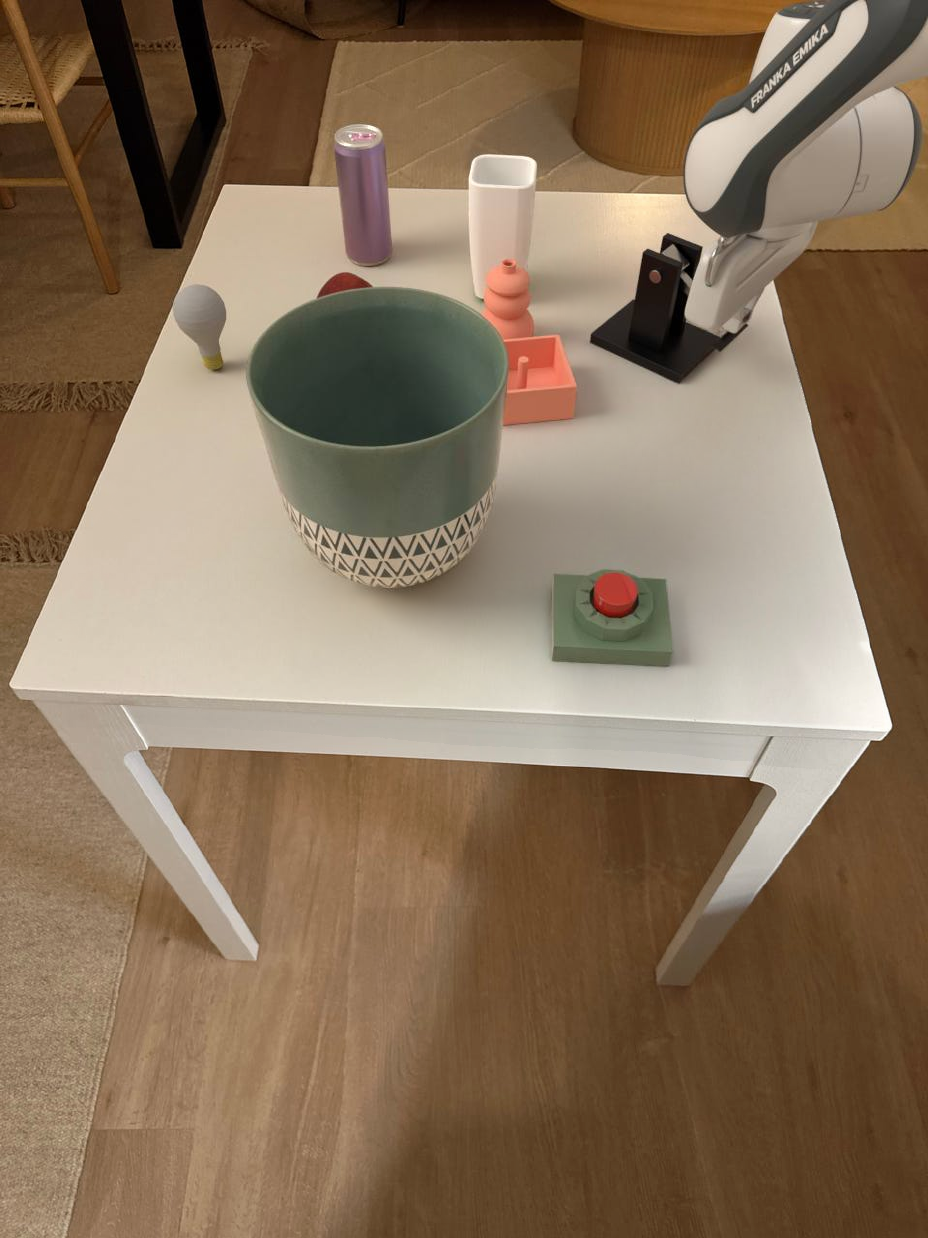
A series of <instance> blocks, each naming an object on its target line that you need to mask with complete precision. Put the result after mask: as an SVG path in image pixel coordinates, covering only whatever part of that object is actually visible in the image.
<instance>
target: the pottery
mask: <svg viewBox="0 0 928 1238" xmlns="http://www.w3.org/2000/svg"><path fill="white" fill-rule="evenodd" d="M486 284H487V286H488V288H487V289H486V291H485V294H484V300H483V304H484V306H485V308H484V310H483V311H482V313H480V314H481V315H482V316H484V317H485V318H486V319H487V320H488V321H489V322H490V323H491V324H492V325H493V326H494V327H495V328H496V330H497V331H498V332H499V334H500V335H501V337H502V339H503V341H504V343H505V346H506V348H507V352H508V357H509V375H508V386H507V397H506V405H505V412H504V420H503V426H509V425H519V424H528V423H530V424H531V423H539V422H550V421H560V420H571V419H574V414H575V409H576V399H577V390H578V385H577V382H576V379H575V376H574V373H573V371H572V368H571V365H570V362H569V359H568V356H567V353H566V351H565V347H564V345H563V343H562V339H561V337H560V334H551V335H550V334H549V335H540V336H539V335H538V336H534V334H535V322H534V319H533V316H532V314H531V313H530V311H529V309H528V308H529V306H530V303H531V295H530V294H531V293H530V290H529V289H528V287H529V286H530V284H531V279H530V275H529V273H528V271H527V272H526V271H525V270H524V269H522V268H521V267H519V266H516V261H515V260H513V259H504V260H502V261H501V265H499V266H497V267H495V268H493V269H492V270H490V271H489V272H488V274H487V277H486Z"/></svg>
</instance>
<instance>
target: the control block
mask: <svg viewBox="0 0 928 1238" xmlns="http://www.w3.org/2000/svg"><path fill="white" fill-rule="evenodd" d="M611 572H617V573H622V574H625V575H627V576H629V577H630V578H631V579H633V580H634V582H635V583H636V585H637V588H638V593H637V598H636V602H635V606H634V608H633V610H632V611H631V612H630V613H629V614H627V615H625V616H623V617H608V616H606V615H603V614H602V613H600V612H599V611H598V610H597V609H596V608H595V606H594V604H593V593H594V587H595V583H596V581H597V579H598V578H599V577H601V576H602V575H604V574H606V573H611ZM551 584H552V585H551V662H569V663H570V662H571V663H572V662H573V663H591V664H611V665H613V664H614V665H629V666H630V665H631V666H632V665H633V666H647V667H648V666H651V667H669V666H670V663H671V660H672V657H673V654H674V653H673V652H674V648H673V637H672V626H671V618H670V617H671V616H670V605H669V597H668V587H667V579H666V578H653V577H639V576H636V575H635V574H633V573H630V572H628V571H626V570H623V569H607V568H606V569H605V568H603V569H599V570H597V571H595V572H593V573H590V574H568V573H567V574H565V573H564V574H563V573H553V576H552V583H551Z"/></svg>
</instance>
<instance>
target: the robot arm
mask: <svg viewBox="0 0 928 1238" xmlns="http://www.w3.org/2000/svg"><path fill="white" fill-rule="evenodd" d="M927 77H928V0H808V1H801V2H795V3H794V2H793V3H792V4H788V5H787V6H784V7H783V8H781V9H780V10H778V11H776V12H775V14H774V15H773V17H772V19H771V20H770V22H769V25H768V27H767V29H766V31H765V32H764V36H763V38H762V41H761V44H760V45H759V49H758V52H757V54H756V58H755V61H754V64H753V67H752V71H751V74H750V78H749V82H748V83H747V85H746V86H745V87H744V88H743V89H741V90H740V91H738V92H736V93H734V94H731V95H728V96H725V97H723V98H721V99H719V100H717V102H716V103H715V104H713V106H712V107H711V108H710V109H709V111H707V112H706V114H705V115H704V117H703V118H702V119H701V120H700V122H699V123H698V125H697V127H696V128H695V130H694V132H693V134H692V135H691V137H690V139H689V142H688V145H687V147H686V151H685V156H684V161H683V170H682V171H683V172H682V177H683V178H682V179H683V180H682V181H683V189H684V194H685V198H686V201H687V203H688V205H689V207H690V208H691V210H692V211H693V213H694V214H695V215H696V216H697V217H698V219H700V221H702V222H703V223H704V225H706V226H707V227H708V228H710V229H711V230H712V231H713V232H715V233H716V234H717V235H719V237H718V238H716V240H714V241H713V242H712V243H710V244H709V246H708V247H707V248H706V249H705V250H704V252H703V253H702V254H701V258H700V262H699V264H698V267H697V270H696V273H695V276H694V279H693V283H692V286H691V289H690V293H689V296H688V300H687V304H686V308H685V317H686V322H687V323H690V324H692V325H694V326H697V327H699V328H701V329H703V330H706V331H708V332H710V333H716V332H719V331H718V330H719V329H720V328H721V327H722V326H723V328H724V330H727V331H729V332H731V333H737V332H738V331H739V330H740V329H741V328H742V327H743V326H744V325H745V324H746V323H747V324H748V323H749V322H750V321H751V320H752V316H753V312H754V309H755V307H756V305H757V304H758V302H759V300H760V299H761V296H762V295H763V292H764V291H765V288H766V287H767V286H769V284H771V283H772V282H773V281H774V280H775V279H776V278H777V277H778V276H779V275H780V274H781V273H782V272H783V271H785V270H786V269H787V268H788V267H789V266H791V264H793V262H795V261H796V260H797V259H798V258H799V257H800V256H801V255H802V254H803V253H804V252H805V251H806V249H807V248H808V246H809V245H810V243H811V241H812V239H813V236H814V234H815V232H816V229H817V227H818V224H819V222H824V221H829V220H836V219H844V218H849V217H850V218H851V217H856V216H862V215H863V216H864V215H867V214H872V213H875V212H880V211H883V210H885V209H886V208H887V209H888V208H889V207H890V206H891V205H892V204H893V202H895V201H896V200H898V197H900V196H901V194H902V193H903V192H904V190H905V189H906V187H907V186H908V184H909V182H910V180H911V178H912V177H913V174H914V172H915V169H916V166H917V165H918V164H917V163H918V160H919V158H920V153H921V149H922V144H923V135H924V134H923V133H924V129H923V123H922V119H921V115H920V114H919V111H918V108H917V106H916V105H915V103H914V102H913V100H912V99H911V98H910V97H909V96H908V94H906V92H904V91H903V90H902V89H901V88H899V87H897V86H900V85H903V84H906V83H909V82H913V81H916V80H920V79H925V78H927Z"/></svg>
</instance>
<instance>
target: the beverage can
mask: <svg viewBox="0 0 928 1238" xmlns="http://www.w3.org/2000/svg"><path fill="white" fill-rule="evenodd" d="M333 150H334V160H335V169H336V176H337V177H336V178H337V186H338V187H337V188H338V195H339V196H338V197H339V203H340V204H339V205H340V213H341V222H342V231H343V238H344V249H345V254H346V256H347V257H348V259H349V260H350V261H351V262H352V263H353V264H355V265H358V266H362V267H374V266H379V265H382V264H383V263H386V262H387V261H388V259H389V258H390V257H391V254H392V253H393V242H392V227H391V225H392V224H391V212H390V211H391V210H390V197H389V182H388V167H387V153H386V142H385V140H384V134H383V132H382V131H381V129H380V128H379V127H376V126H374V125H369V124H365V123H363V124H362V123H358V124H350V125H345V126H343V127H341V128H339V129H338V130H336V132H335V133H334V144H333Z"/></svg>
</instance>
